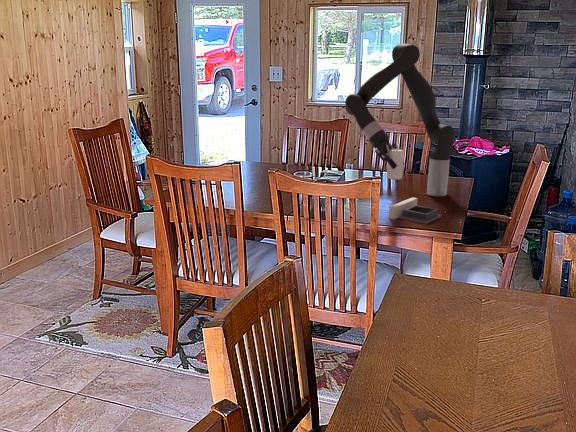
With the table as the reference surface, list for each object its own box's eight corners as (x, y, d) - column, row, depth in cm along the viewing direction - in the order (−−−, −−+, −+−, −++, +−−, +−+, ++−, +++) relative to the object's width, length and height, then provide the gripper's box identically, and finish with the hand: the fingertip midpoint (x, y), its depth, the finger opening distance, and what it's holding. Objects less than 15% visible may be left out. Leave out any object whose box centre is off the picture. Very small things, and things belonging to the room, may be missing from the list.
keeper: (415, 211, 245) (415, 203, 244) (441, 216, 237) (442, 208, 236) (399, 218, 234) (399, 210, 233) (426, 224, 227) (426, 216, 226)
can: (402, 180, 236) (404, 151, 233) (386, 179, 237) (387, 150, 234) (402, 176, 242) (404, 148, 239) (386, 176, 243) (388, 148, 240)
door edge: (411, 208, 249) (412, 197, 247) (416, 209, 247) (417, 198, 246) (388, 218, 234) (389, 206, 232) (393, 219, 232) (394, 207, 231)
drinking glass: (336, 207, 248) (337, 180, 244) (327, 213, 239) (328, 185, 236) (315, 204, 252) (316, 178, 249) (305, 210, 244) (306, 182, 240)
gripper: (372, 130, 233) (396, 163, 229) (390, 127, 244) (413, 158, 240) (360, 142, 238) (384, 174, 234) (378, 138, 249) (401, 169, 245)
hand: (399, 166), depth 237 cm, fingers closed on can, 5 cm apart
